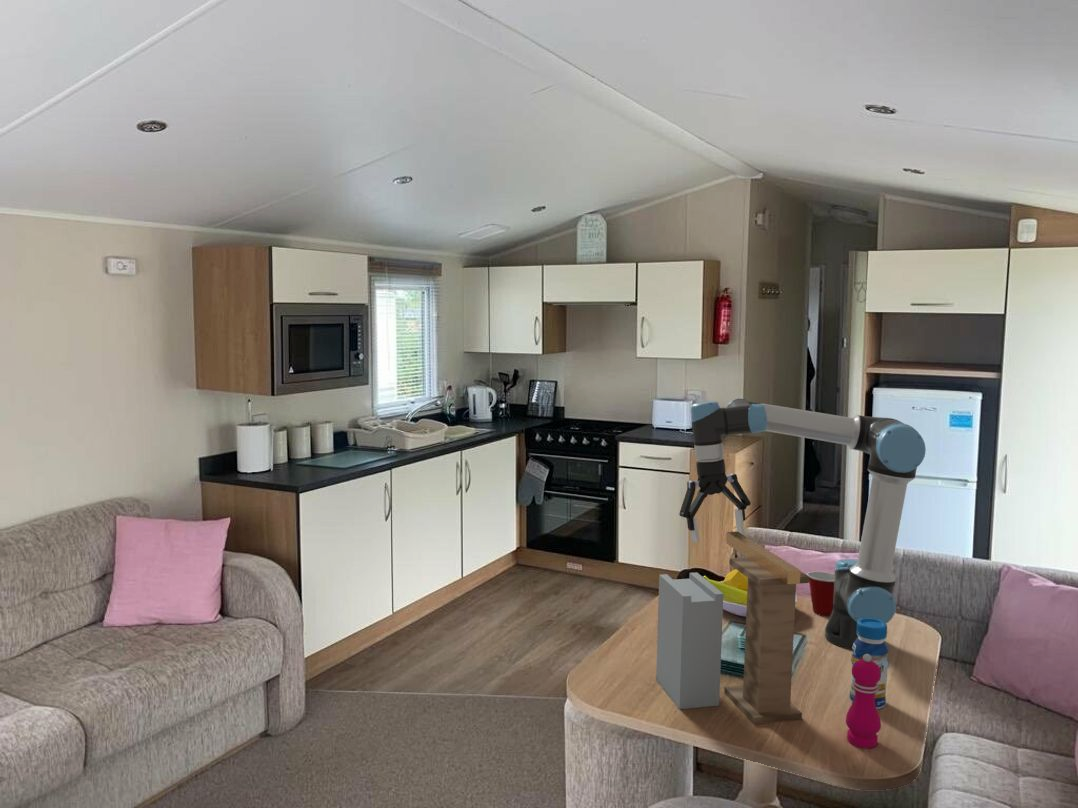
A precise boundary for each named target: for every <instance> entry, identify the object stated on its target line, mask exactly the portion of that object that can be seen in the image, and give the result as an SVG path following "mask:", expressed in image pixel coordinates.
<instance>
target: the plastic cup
mask: <svg viewBox="0 0 1078 808" xmlns="http://www.w3.org/2000/svg"><path fill="white" fill-rule="evenodd" d="M806 575H808V576H809V583H808V584H809V590H810V598H811V599H810V600H811V604H812V605H811V606H812V610H813V611H812V612H813V613H814V614H816V615H818V614H820V615H819V616H823V615H829V616H831V614H832V611H833V597H834V579H835V573H832V572H825V571H809V572H807V573H806Z"/></svg>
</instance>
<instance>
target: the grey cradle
mask: <svg viewBox="0 0 1078 808" xmlns="http://www.w3.org/2000/svg"><path fill="white" fill-rule="evenodd" d="M658 575H659V578H658V606H657V607H658V608H657V610H658V611H657V612H658V613H657V636H656V637H657V643H656V669H655V670H656V672H655V681H657V683H658V684H659V685H660V687H661V688H662V689H663V690H664V692H665V693H666V694H667V695H668V697H669V698H670V699H671V701H672V702H673V703H674V705H675V706H676V707H677V708H678V710H684V709H685V710H686V709H687V710H688V709H697V708H707V707H716V706H718V707H719V706H720V696H721V695H720V692H721V691H720V688H721V667H722V665H721V664H722V645H723V644H722V643H723V642H722V639H723V638H722V637H723V617H724V616H723V615H724V609H723V593H722V592H721V591H719V590H718V589H717V588H716V587H714V586H713V585H712V584H711V583H710V582H708V581H707V580H706V579H705V578H703V576H702V575H701V574H700V573H698V572H697V571H696V572H689V576H688V577H689V578H681V579H679V578H678V579H677V578H675V579H673V578H672V577H671V576H670V575H668V574H667V573H665V574H663V573H662V574H658Z"/></svg>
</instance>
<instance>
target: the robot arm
mask: <svg viewBox="0 0 1078 808" xmlns="http://www.w3.org/2000/svg"><path fill="white" fill-rule="evenodd" d="M690 416H691V417H690V418H691V419H690V420H691V428H692V429H691V430H692V436H693V445H694V446H693V447H694V455H695V460H696V462H695V465H696V466H695V468H696V474H697V480H687V483H686V487H687V489H686V491H685V492H686V493H685V495H684V498H683V501H682V504H681V508H680V510H679V512H678V514H679V515H678V516H680V517H682V518H686V524H687V529H688V530H689V531H690V535H691V541H692V542H693V543H697V544H699V543H700V535H699V526H698V519H697V517H695V516H696V514H697V512H698V511H699V509H700V507H701V505H702V504H703V502H704V501H705V499H706V498H707V496H712V495H715V494H721V493H722V494H723V495H724V496H725V497H726V498H727V499H728V500H729V501H730V502H731V503H732V504H733V505H734V506H735V507H736V508H734V518H735V526H736V531H738V532H739V533H741V534H743V535H745V528H744V527H745V526H744V521H746V510H747V508H748V506H751V500H750V499H749V497H748V495H747V494H746V492H745V490H744V489H743V488H742V486H741V484H740V482H739V479H738V475H737V473H732V472H729V473H728V474H727V475H726V464H725V463H726V462H725V461H726V460H725V459H724V457H725V452H724V444H723V437H724V436H725V437H726V436H727V437H728V436H735V435H746V434H747V435H748V434H752V435H753V434H756V433H763V432H770V433H776V434H782V435H786V436H787V435H788V436H793V437H799V438H805V439H811V440H817V441H823V442H828V443H833V444H834V443H835V444H840V445H847V446H848V448H849V449H850V450H855V451H859V452H863V453H866V454H868V455H869V459H868V465H867V471H868V472H869V474H870V475H871V477H872V479H871V484H870V489H869V495H868V499H867V500H868V501H867V505H866V506H867V507H866V512H865V516H864V521H863V522H864V523H863V527H862V528H863V529H862V534H861V538H860V539H861V540H860V545H859V549H858V550H859V551H858V555H857V556H858V557H857V558H842V559H839V560H837V561H836V563H835V566H834V567H835V568H834V570H833V572H834V574H835V579H834V597H833V611H832V614H831V615H829V619H828V621H827V623H826V626H825V628H824V629H825V630H824V637H825V639H826V640H827V641H828V642H830V643H832V644H833V645H836V646H838V647H841V648H845V649H850V650H852V646H853V644H854V642H855V640H856V639H857V638H858V637H859V636H858V635H857V622H858V620H859V619H862V618H873V619H878V620H881V621H883V622H885V623H886V624H888V623H889V622H890V621H891V620H892V619H893V617H894V616H895V614H896V611H897V604H896V599H895V597H894V591H895V586H896V580H897V577H896V576H895V574H894V573H893V572H892V568H893V562H894V557H895V552H896V548H897V547H896V546H897V541H898V537H899V536H898V534H899V532H900V531H899V530H900V525H901V519H902V514H903V510H904V509H903V508H904V504H905V497H906V493H907V487H908V484H909V483H910V482H912V481H913V480H915V479H916V473H917V469H918V467H919V466H920V465H921V464H922V463H923V461H924V459H925V457H926V456H925V455H926V444H925V441H924V438H923V437H922V435H921V434H920V433H919V432H918V430H916V429H915V428H914V427H912V426H911V425H909V424H907V423H904V422H902V421H900V420H898V419H895V418H892V417H878V416H867V415H860V414H859V415H858V414H856V415H854V416H853V417H849V416H843V415H836V414H830V413H824V412H823V413H822V412H819V411H818V412H817V411H812V410H811V411H810V410H806V409H805V410H804V409H799V408H794V407H793V408H791V407H787V406H781V405H774V404H768V403H761V402H756V401H750V400H746V399H745V398H734V399H732V400H730V401H729V402H728V403H727V405H726V407H720V406H719V402H718V401H716V400H715V401H713V400H711V401H700V402H695V403H693V404H692V405H691V406H690ZM727 482H729V483H730V485H731V487H732V489H733V491H734V492H735V494H736V495H737V496H736V495H735V494H734V492H732V491H731V490H730V489H729V488H728V486H726V484H727ZM698 487H699V488H698ZM697 488H698V491H697V494H696V496H695V493H696V490H697ZM694 497H695V498H694ZM693 499H694V500H693Z"/></svg>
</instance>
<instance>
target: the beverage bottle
mask: <svg viewBox="0 0 1078 808" xmlns="http://www.w3.org/2000/svg"><path fill="white" fill-rule="evenodd" d="M887 624H888V623H885V622H883V621H881V620H878V619H873V618H862V619H859V620H858V622H857V635H858V636H859V637H858V638H857V639H856V640H855V642H854V644H853V646H852V649H851V650H852V652H853V653H852V654H851V656H850V662H851V668H852V667H853V665H854V663H855V662H856V661H858V660H862V659H863V656H864V655H865V654H869V655H870V656H871V658H872V659H871V661H873V662H875V663H876V664H877V665H878V666H879V668H880V670H881V678H880V680H879V681H878V682H877V684H878V687H877V688H878V691H877V692H875V706H876V709H877V710H879V709H883V708H884V707H885V706H886V705H887V704H886V703H887V698H886V694H887V693H886V692H887V681H888V679H887V678H888V668H889V665H890V661H889V659H888V657H889V655H890V650H889V646H888V645H887V643H886V641H885V640H886V639H887V637H888V636H887V635H888V625H887ZM850 671H851V673H850V675H851V676H850V690H849V702H851V704H852V703H853V701H854V698H855V689H854V687H853V685H854V683H853V681H854V680H855V679H854V677H853V675H852V670H850Z"/></svg>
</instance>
